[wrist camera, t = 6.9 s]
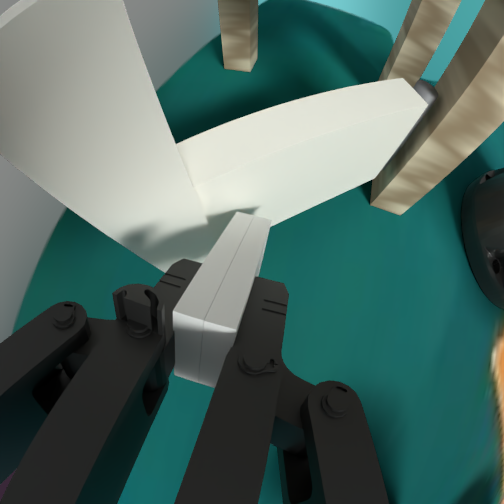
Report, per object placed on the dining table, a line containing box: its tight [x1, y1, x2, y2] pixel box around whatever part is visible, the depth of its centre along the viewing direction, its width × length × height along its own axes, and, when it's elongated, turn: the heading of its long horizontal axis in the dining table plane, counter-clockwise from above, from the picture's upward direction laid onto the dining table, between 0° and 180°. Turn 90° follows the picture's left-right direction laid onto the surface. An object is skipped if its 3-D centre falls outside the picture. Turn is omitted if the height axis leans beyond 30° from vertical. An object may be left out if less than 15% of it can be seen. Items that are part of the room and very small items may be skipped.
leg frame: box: [0, 0, 438, 273], centre depth 12 cm, size 17×3×19 cm, turn 117°
